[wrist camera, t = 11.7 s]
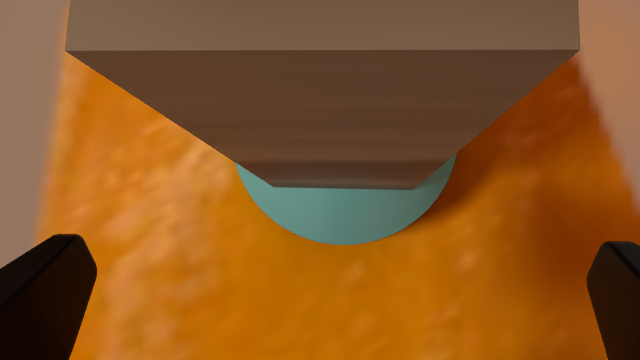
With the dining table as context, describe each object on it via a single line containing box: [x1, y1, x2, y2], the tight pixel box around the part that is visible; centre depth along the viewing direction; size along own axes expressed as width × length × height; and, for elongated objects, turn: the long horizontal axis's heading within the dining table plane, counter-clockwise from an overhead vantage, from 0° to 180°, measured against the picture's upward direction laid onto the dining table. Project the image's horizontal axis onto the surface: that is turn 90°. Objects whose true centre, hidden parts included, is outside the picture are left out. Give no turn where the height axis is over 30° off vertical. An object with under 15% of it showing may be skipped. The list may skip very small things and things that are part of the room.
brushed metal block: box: [65, 0, 580, 190], centre depth 11 cm, size 5×5×13 cm
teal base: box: [235, 153, 457, 245], centre depth 19 cm, size 9×9×2 cm
